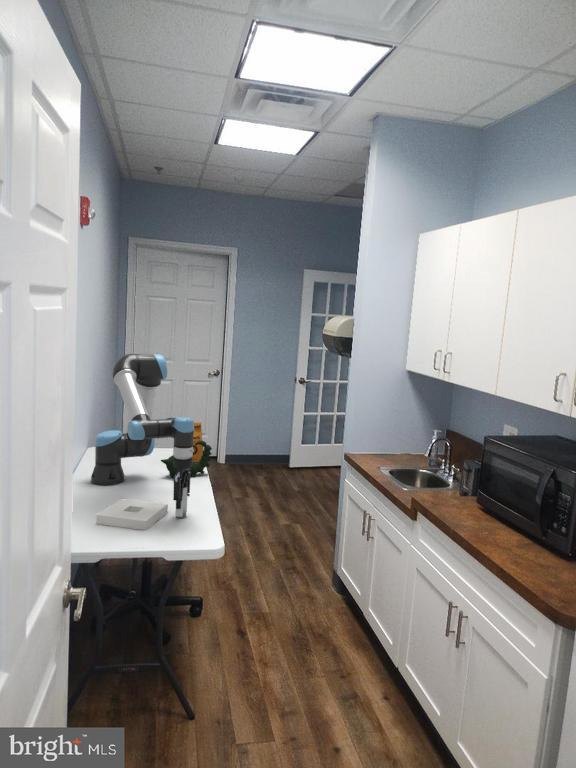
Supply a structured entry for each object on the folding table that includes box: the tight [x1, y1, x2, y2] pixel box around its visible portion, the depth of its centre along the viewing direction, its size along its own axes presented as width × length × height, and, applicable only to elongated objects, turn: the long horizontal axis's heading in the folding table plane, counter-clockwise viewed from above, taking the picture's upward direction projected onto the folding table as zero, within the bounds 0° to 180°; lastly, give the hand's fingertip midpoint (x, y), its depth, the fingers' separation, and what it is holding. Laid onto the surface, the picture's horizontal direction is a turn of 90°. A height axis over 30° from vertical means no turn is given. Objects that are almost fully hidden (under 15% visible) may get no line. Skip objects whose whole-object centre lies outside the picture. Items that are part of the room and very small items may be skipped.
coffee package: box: [192, 421, 204, 463], centre depth 299 cm, size 10×12×22 cm
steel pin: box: [175, 486, 188, 519], centre depth 216 cm, size 4×4×12 cm
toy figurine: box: [160, 440, 213, 478], centre depth 271 cm, size 9×19×25 cm
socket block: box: [95, 497, 169, 531], centre depth 213 cm, size 20×20×4 cm
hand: (181, 514), depth 217 cm, fingers closed on steel pin, 4 cm apart
